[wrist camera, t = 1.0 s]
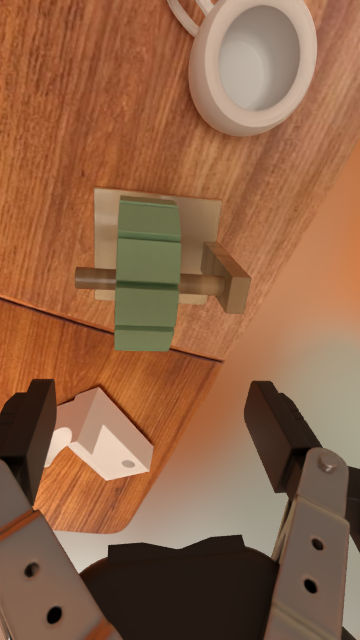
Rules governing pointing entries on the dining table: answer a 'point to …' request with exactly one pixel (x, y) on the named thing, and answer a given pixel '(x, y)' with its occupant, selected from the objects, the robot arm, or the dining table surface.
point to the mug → (249, 62)
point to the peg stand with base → (196, 252)
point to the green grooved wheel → (147, 273)
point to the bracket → (100, 436)
